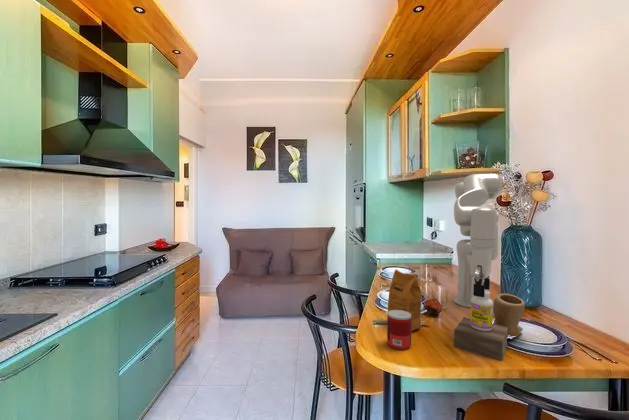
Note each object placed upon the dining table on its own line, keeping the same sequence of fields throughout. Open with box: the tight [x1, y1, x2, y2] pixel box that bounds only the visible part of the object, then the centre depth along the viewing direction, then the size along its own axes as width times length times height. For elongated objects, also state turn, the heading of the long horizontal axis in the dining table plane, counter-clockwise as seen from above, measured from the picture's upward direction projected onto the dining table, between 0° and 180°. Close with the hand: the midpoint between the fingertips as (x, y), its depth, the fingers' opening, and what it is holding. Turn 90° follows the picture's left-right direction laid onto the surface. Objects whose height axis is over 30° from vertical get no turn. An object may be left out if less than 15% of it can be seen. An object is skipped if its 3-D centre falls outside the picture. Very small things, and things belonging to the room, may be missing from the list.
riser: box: [453, 316, 508, 361], centre depth 101 cm, size 14×14×6 cm
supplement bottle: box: [469, 289, 494, 331], centre depth 101 cm, size 7×7×13 cm
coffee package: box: [387, 269, 422, 332], centre depth 116 cm, size 10×12×22 cm
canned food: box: [386, 310, 412, 351], centre depth 101 cm, size 8×8×11 cm
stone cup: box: [493, 293, 526, 337], centre depth 110 cm, size 15×12×15 cm
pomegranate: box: [423, 298, 443, 317], centre depth 129 cm, size 7×7×10 cm
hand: (481, 292), depth 101 cm, fingers open, 9 cm apart
